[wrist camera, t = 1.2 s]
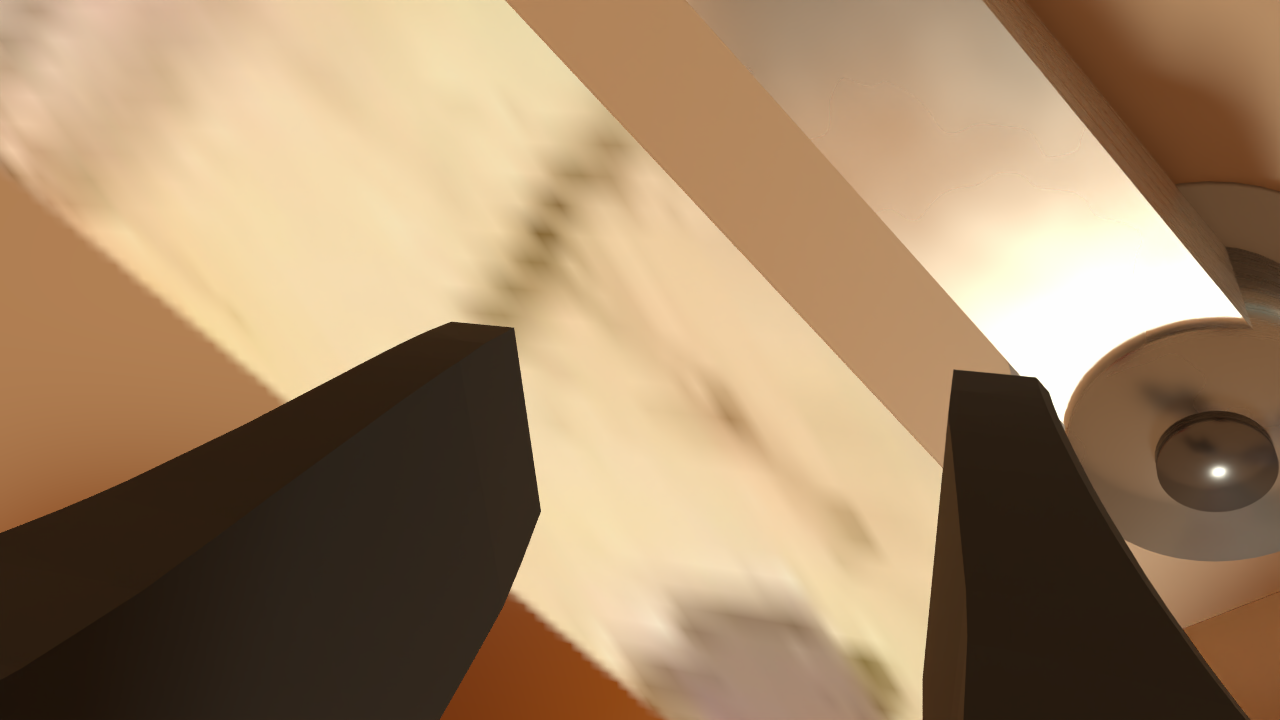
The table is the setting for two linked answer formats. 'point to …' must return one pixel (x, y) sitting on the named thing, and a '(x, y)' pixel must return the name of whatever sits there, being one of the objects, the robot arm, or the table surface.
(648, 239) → the table surface
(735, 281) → the table surface
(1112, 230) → the lock bar
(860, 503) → the table surface
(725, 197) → the door board
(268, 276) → the table surface
